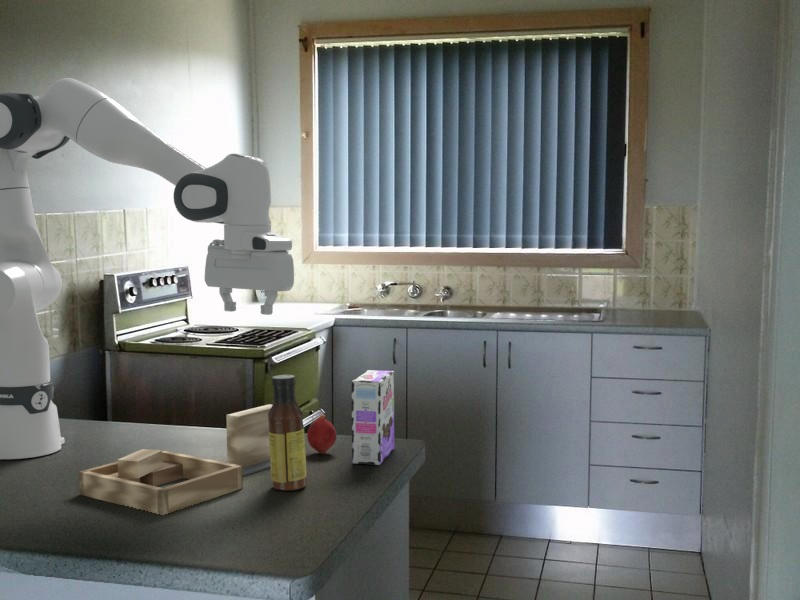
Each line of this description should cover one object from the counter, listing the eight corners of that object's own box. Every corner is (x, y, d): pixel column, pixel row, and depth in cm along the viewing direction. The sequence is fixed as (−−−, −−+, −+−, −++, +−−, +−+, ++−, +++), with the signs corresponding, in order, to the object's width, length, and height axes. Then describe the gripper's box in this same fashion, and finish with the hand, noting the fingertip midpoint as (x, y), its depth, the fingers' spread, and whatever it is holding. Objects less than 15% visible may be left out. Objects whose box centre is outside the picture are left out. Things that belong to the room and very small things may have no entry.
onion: (309, 458, 190) (308, 418, 189) (306, 450, 196) (305, 412, 195) (338, 456, 191) (337, 416, 190) (334, 449, 197) (333, 410, 196)
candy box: (380, 466, 184) (380, 381, 182) (350, 464, 185) (350, 380, 183) (395, 448, 197) (395, 369, 196) (367, 447, 198) (367, 368, 197)
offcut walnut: (138, 485, 172) (137, 469, 172) (167, 476, 178) (167, 460, 178) (153, 489, 170) (152, 472, 170) (182, 479, 176) (182, 463, 176)
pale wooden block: (227, 466, 182) (226, 414, 181) (270, 453, 192) (269, 404, 191) (239, 469, 180) (238, 416, 179) (281, 455, 190) (280, 405, 189)
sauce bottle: (308, 482, 173) (306, 373, 171) (304, 492, 166) (303, 379, 165) (271, 482, 173) (270, 373, 171) (267, 492, 166) (265, 379, 165)
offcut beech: (118, 476, 167) (117, 459, 167) (143, 465, 175) (142, 448, 175) (138, 478, 166) (137, 461, 166) (162, 466, 174) (162, 450, 173)
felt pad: (207, 469, 181) (207, 467, 181) (267, 451, 195) (267, 449, 195) (242, 476, 176) (242, 474, 176) (301, 457, 190) (301, 455, 190)
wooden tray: (79, 494, 166) (78, 471, 165) (161, 470, 181) (160, 449, 180) (163, 515, 154) (162, 491, 154) (242, 488, 169) (242, 465, 169)
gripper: (196, 239, 186) (197, 310, 187) (276, 241, 174) (276, 317, 175) (220, 238, 191) (220, 308, 192) (299, 241, 179) (299, 314, 181)
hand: (248, 312), depth 184 cm, fingers open, 8 cm apart
